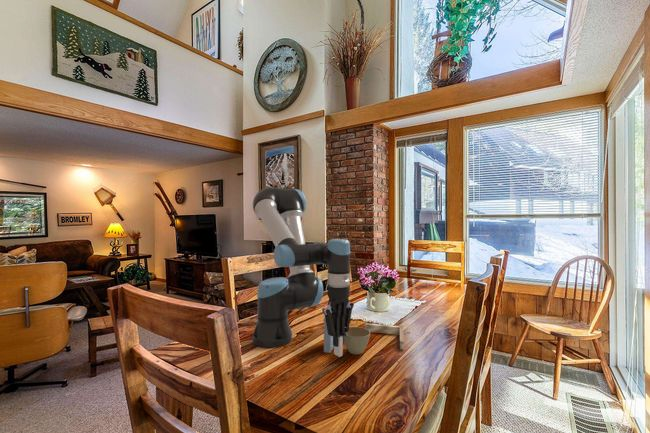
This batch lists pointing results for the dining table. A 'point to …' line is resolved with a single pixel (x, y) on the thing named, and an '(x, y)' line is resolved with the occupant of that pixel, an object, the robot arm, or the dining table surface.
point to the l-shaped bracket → (387, 331)
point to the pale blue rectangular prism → (327, 340)
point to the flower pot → (356, 339)
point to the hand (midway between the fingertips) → (338, 354)
